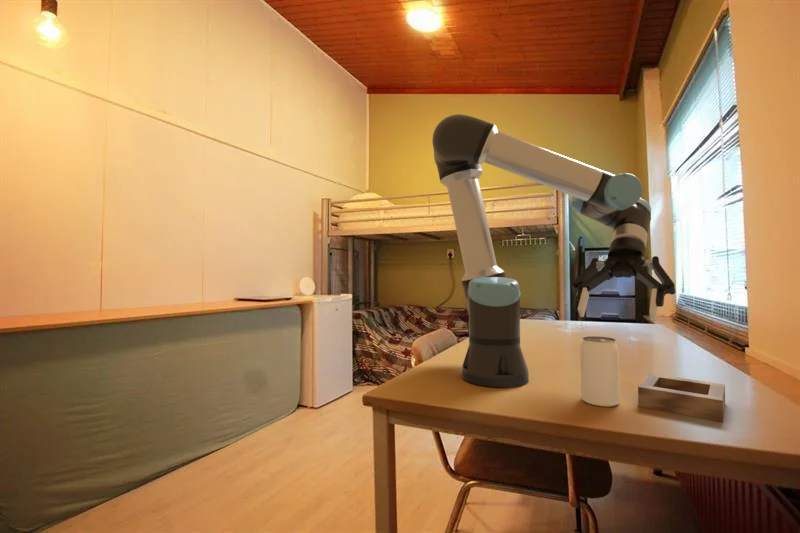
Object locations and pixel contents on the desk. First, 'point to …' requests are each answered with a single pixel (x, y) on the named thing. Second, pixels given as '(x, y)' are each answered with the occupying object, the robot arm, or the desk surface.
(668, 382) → the holder
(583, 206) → the robot arm
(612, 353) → the can
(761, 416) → the desk surface
